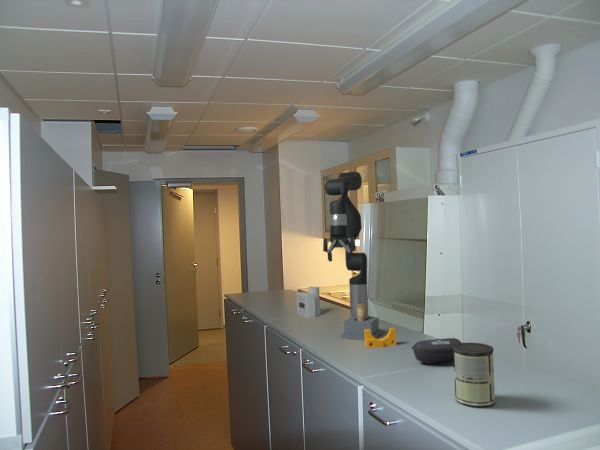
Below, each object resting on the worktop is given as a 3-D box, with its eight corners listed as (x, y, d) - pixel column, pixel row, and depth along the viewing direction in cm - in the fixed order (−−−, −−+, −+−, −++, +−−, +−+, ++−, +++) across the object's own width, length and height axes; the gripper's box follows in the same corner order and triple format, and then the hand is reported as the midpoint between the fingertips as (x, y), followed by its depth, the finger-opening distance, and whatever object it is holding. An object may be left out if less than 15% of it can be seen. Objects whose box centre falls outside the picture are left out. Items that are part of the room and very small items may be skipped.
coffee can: (449, 393, 135) (447, 343, 135) (485, 391, 135) (483, 341, 135) (462, 407, 125) (460, 352, 125) (502, 405, 125) (500, 351, 125)
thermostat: (297, 315, 262) (296, 287, 262) (320, 312, 268) (319, 285, 268) (307, 318, 251) (306, 289, 251) (331, 315, 257) (330, 287, 257)
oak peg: (359, 330, 211) (358, 303, 211) (367, 331, 210) (366, 303, 210) (356, 332, 208) (355, 304, 208) (365, 333, 206) (364, 305, 206)
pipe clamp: (367, 348, 188) (366, 331, 188) (364, 345, 192) (364, 329, 192) (397, 346, 189) (396, 330, 189) (394, 344, 193) (393, 327, 193)
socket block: (351, 330, 218) (351, 315, 218) (382, 332, 213) (381, 316, 213) (341, 338, 205) (340, 321, 205) (373, 340, 199) (372, 323, 199)
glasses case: (421, 368, 159) (420, 345, 159) (407, 360, 169) (406, 338, 169) (470, 363, 163) (469, 340, 163) (453, 355, 173) (452, 333, 173)
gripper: (356, 223, 213) (357, 260, 213) (326, 224, 219) (327, 260, 219) (351, 224, 206) (352, 262, 206) (320, 225, 212) (321, 262, 212)
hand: (339, 261), depth 212 cm, fingers open, 8 cm apart
